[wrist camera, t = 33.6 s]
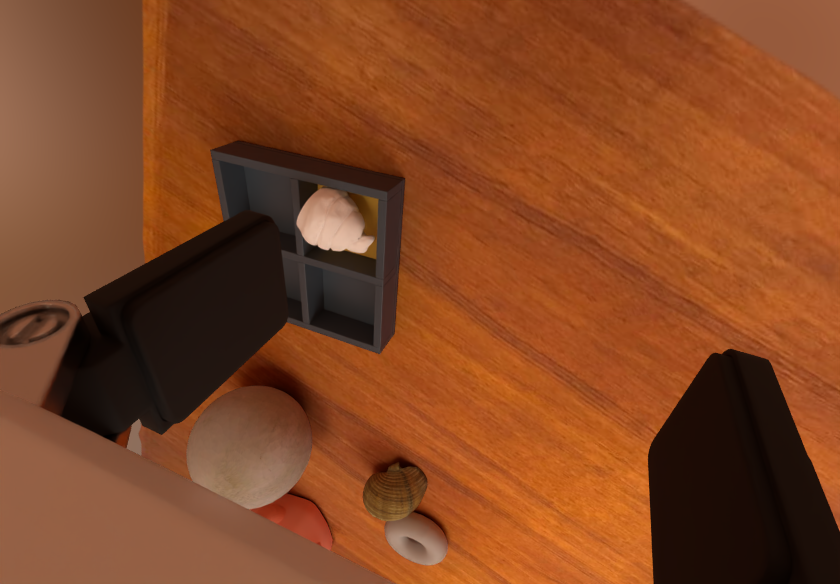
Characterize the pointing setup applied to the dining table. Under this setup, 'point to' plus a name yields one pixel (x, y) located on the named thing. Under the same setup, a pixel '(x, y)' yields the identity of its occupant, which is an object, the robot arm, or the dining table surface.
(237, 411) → the decorative sphere
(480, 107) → the dining table surface
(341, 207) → the garlic bulb
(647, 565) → the dining table surface
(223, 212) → the grid
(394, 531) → the donut
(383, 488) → the seashell
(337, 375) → the dining table surface
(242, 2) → the dining table surface
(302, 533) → the pot
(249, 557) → the robot arm
